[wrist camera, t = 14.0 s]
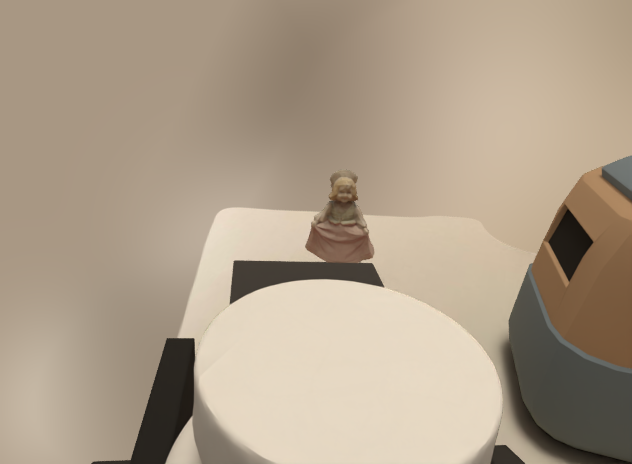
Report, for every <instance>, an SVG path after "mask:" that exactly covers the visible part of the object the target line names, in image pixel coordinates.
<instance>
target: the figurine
mask: <svg viewBox="0 0 632 464" xmlns="http://www.w3.org/2000/svg"><path fill="white" fill-rule="evenodd" d="M357 179H358V177H357V176H356V174H354V173H353V172H352V171H350V170H339V171H337V172H335V173H334V174H333V175H332V176H331V178H330V180H331V183H332V184H331V187H332V192H331V193H330V194H329V198H330V200H333V201H329V203H328V204H327V205H326V207H325V208H324V209H323V210H322V211H321V212H320V213H318V214H317V215H315V217H314V221H312V223H311V231H310V235H309V238H308V241H307V243H306V245H305V248H306V249H307V250H308V251H310V252H311V253H313V254H315V255H316V256H318V257H319V258H321V259H323V260H324V261H326V262H333V263H358V262H360V261H362V260H366V259H370V258H373V255H374V247H373V245H372V244H371V242H370V239H369V236H368V234H369V230H368V229H367V224H366V222H365V220H364V218H363V215H362V212H361V210H360V208H359V206H358V205H356V203H355V202H354V201H355V200H358V196H357V195H356V194H357V192H356V185H355V183H356V182H357Z"/></svg>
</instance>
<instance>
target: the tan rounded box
mask: <svg viewBox="0 0 632 464" xmlns="http://www.w3.org/2000/svg"><path fill="white" fill-rule="evenodd" d="M509 339H510V344H511V349H512V353H513V358H514V362H515V367H516V372H517V376H518V381H519V385H520V390H521V395H522V399H523V402H524V403H525V405H526V407H527V409H528V410H529V412H530V414H531V416H532V417H533V419H534V421H535V422H536V424H537V425H538V426H539V427H540V428H542V429H543V430H544V431H545V432H547V433H548V434H549V435H550V436H551V437H553V438H554V439H556V440H558V441H560V442H563V443H565V444H567V445H570V446H572V447H574V448H577V449H581V450H584V451H588V452H592V453H596V454H600V455H604V456H608V457H611V458H615V459H619V460H623V461H627V462H631V463H632V156H629V157H626V158H623V159H620V160H618V161H615V162H613V163H610V164H608V165H606V166H602V167H599V168H597V169H594V170H592V171H590V172H587V173H585V174H584V175H582V177H581V178H580V179H579V181H578V182H577V183H576V185H575V186H574V188H573V189H572V190H571V192H570V193H569V195H568V196H567V198H566V199H565V201H564V202H563V203H562V205H561V206H560V207H559V209H558V211H557V213H556V215H555V218H554V220H553V222H552V224H551V226H550V228H549V230H548V232H547V234H546V236H545V238H544V240H543V243H542V245H541V247H540V250H539V252H538V254H537V256H536V258H535V260H534V262H533V263H532V264H530V265H529V268H528V270H527V273H526V275H525V278H524V281H523V283H522V286H521V289H520V291H519V294H518V296H517V299H516V302H515V304H514V307H513V309H512V312H511V315H510V318H509Z"/></svg>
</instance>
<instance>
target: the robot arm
mask: <svg viewBox="0 0 632 464" xmlns="http://www.w3.org/2000/svg"><path fill="white" fill-rule="evenodd" d="M194 363H195V342H194V338H169V339H168V338H167V340H166V344H165V347H164V350H163V354H162V357H161V360H160V363H159V367H158V370H157V374H156V377H155V380H154V384H153V387H152V390H151V394H150V397H149V400H148V404H147V407H146V411H145V414H144V417H143V421H142V425H141V427H140V431H139V434H138V438H137V441H136V444H135V448H134V451H133V454H132V458H131V460H125V461H98V462H93V463H92V464H165V463H166V460H167V458H168V455H169V453H170V451H171V449H172V447H173V445H174V443H175V441H176V439H177V438H178V436H179V434H180V433H181V431H182V429H183V428H184V427H185V425H186V424H187V422H188V421H189V420H190V418H191V417H192V416H193V406H194ZM490 464H525V463H524V462H523V461H522V460H521V459H520V458H519V457H518V456H517V455H516V454H515V453H514V452H512V451H511V450H510V449H509V448H508V447H507V446H506V445H496V446H494V450H493V455H492V459H491V463H490Z"/></svg>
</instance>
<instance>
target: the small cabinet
mask: <svg viewBox="0 0 632 464" xmlns="http://www.w3.org/2000/svg"><path fill="white" fill-rule="evenodd" d="M319 279H329V280H343V281H353V282H359V283H364V284H370V285H374V286H379V287H383V288H385V287H384V285H383V283H382V281H381V279H380V277H379V275H378V273H377V271H376V269H375V267H374V265H373V264H372V263H333V262H284V261H234V264H233V275H232V285H231V296H230V304H232V303H234V302H235V301H237V300H239V299H240V298H242V297H244V296H246V295H248V294H250V293H252V292H254V291H257V290H259V289H262V288H266V287H269V286H273V285H277V284H281V283H286V282H292V281H301V280H319Z"/></svg>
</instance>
